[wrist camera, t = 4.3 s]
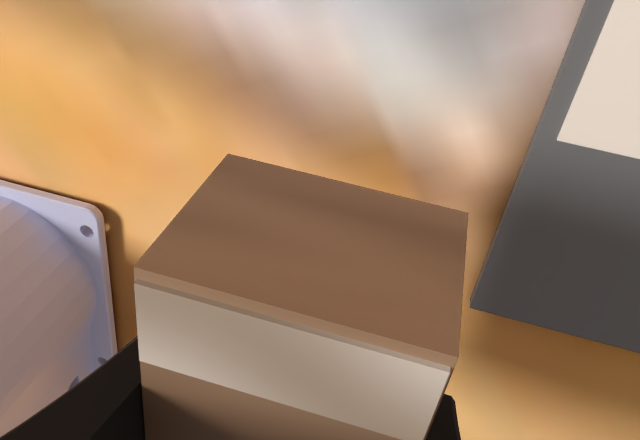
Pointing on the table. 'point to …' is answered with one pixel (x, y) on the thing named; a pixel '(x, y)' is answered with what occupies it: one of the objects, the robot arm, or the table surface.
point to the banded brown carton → (298, 310)
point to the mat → (578, 194)
